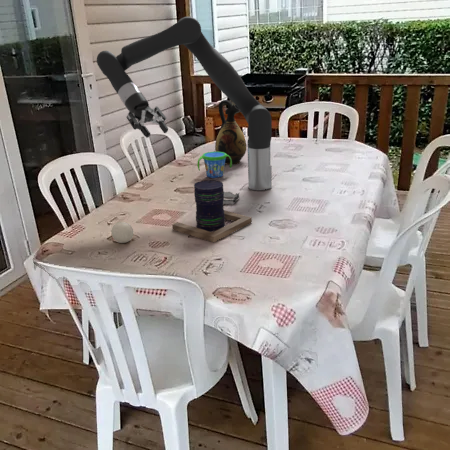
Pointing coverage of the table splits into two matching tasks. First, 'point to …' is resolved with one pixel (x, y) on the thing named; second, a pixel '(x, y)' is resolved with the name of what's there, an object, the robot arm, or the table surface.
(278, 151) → the table surface
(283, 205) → the table surface
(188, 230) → the walnut bay
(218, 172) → the snack cup
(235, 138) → the ceramic jug
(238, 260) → the table surface
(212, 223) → the dark blue ridged cylinder
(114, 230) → the white egg
